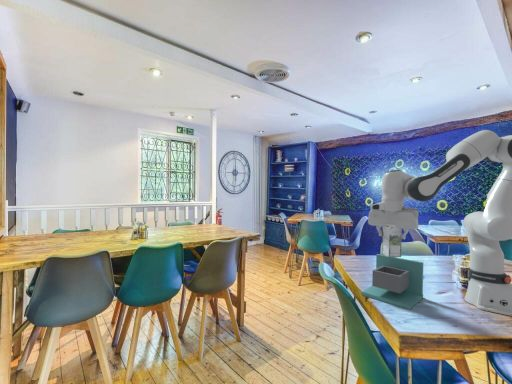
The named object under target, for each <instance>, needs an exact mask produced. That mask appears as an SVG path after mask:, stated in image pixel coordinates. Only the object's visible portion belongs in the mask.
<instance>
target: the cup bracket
mask: <svg viewBox="0 0 512 384" xmlns="http://www.w3.org/2000/svg"><path fill="white" fill-rule="evenodd" d="M375 256H376V260H375V261H376V262H375V263H376V264H375V265H376V266H375V269H374V268H373V270H372V274H371V275H372V279H371V280H372V283H371V286H369V287H366V288H365V289H364V290H362V291H361V296H364V297H367V298H371V299H374V300H377V301H380V302H383V303H387V304H390V305H393V306H397V307H398V308H399V307H400V308H404V309H407V310H410V311H411V310H412V309H413V308H414V307H415V306H416V305H417V304H419V302H420V301H421V300H422V299H423V298H424V262H423V261H418V260H413V259H412V260H411V259H407V258H402V257H388V256H385V255H383V254H379V253H377V254H376V255H375Z"/></svg>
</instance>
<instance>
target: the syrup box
mask: <svg viewBox="0 0 512 384" xmlns="http://www.w3.org/2000/svg"><path fill="white" fill-rule="evenodd" d="M402 231H403V229H402V228H396V225H393V224H386V223H385V227H383V226H382V232H383V236H381V237H382V248H381V255H385V256H388V257H397V258H402V239H401V235H403V233H402Z"/></svg>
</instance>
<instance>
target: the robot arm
mask: <svg viewBox="0 0 512 384" xmlns="http://www.w3.org/2000/svg"><path fill="white" fill-rule="evenodd" d="M483 160H487V161H489V162H491V163H502V170H501V172H500V174H499V175H498V177H497V178H496V179H495V181H494V183H493V185H492V186H491V188H490V190H489V191H488V192H487V194H486V204H485V207H484V209H483V211H481V210H480V211H473V212H471V213H468V214H467V215H466V216H465V217H464V218H463V226H464V228H465V231H466V236H467V241H468V246H469V267H468V270H467V280H468V284H467V288H466V289H467V290H466V293H465V296H464V298H463V299H464V301H466V302H467V303H468V304H471V305H472V306H475V307H476V308H478V309H479V310H482V311H486V312H492V313H497V314H502V315H506V316H510V317H512V284H511V282H512V278H511V276H510V274H507V273H506V272H505V254H504V252H503V250H502V248H501V244H500V241H502V242H503V241H504V242H505V241H508V240H510V239H512V134H509V135H505V136H501V137H500V136H499V135H498V134H497V133H495V131H492V130H490V129H481V130H479V131H477V132H475V133H473V134H471V135H469V136H467V137H465V138H464V139H462V140H460V141H459V142H458V143H456V144H455V145H454V146H453V147H451V148H450V149H449V150H448V151H447V152H446V153H445V161H446V162H444V163H443V164H442V165H440V167H437V168H436V169H435V170H434V171H432V172H431V173H429V174H426V175H421V176H418V177H416V176H413V175H410V174H409V173H406V172H405V171H403V169H395V170H390V171H386V172H384V174H383V176H382V179H381V181H382V182H381V193H382V195H381V201H380V202H377V203H374V204H373V203H372V204H371V205H370V206H369V207H370V211H368V216H367V217H368V219H367V224H368V225H370V226H374V227H375V226H376V227H375V229H376V230H377V232H378V236H379V237H382V236H383V230H382V228H383V227H385V223H386V224H393V225H396V228H402V230H403V232H404V233H402V235H401V240H406V238H407V236H406V235H407V234H408V233H409V230H411V231H415V230H417V229H418V228H419V219H418V218H419V216H420V215H419V212H420V211H419V210H418V209H417V208H415V207H408V206H404V205H405V203H404V202H405V200H404V199H405V198H406V199H409V200H412V201H419V202H428V201H431V200H433V199H434V198H435V197H436V196H437V195H438V193H439V191H440V190H441V188H443V186H444V185H446V184H447V183H449V181H452V180H453V179H455V177H457V176H458V175H460V174H462V172H464V171H466V170H468V169H470V168H472V167H474V166H476V165H477V164H478V163H480V162H481V161H483Z"/></svg>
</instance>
